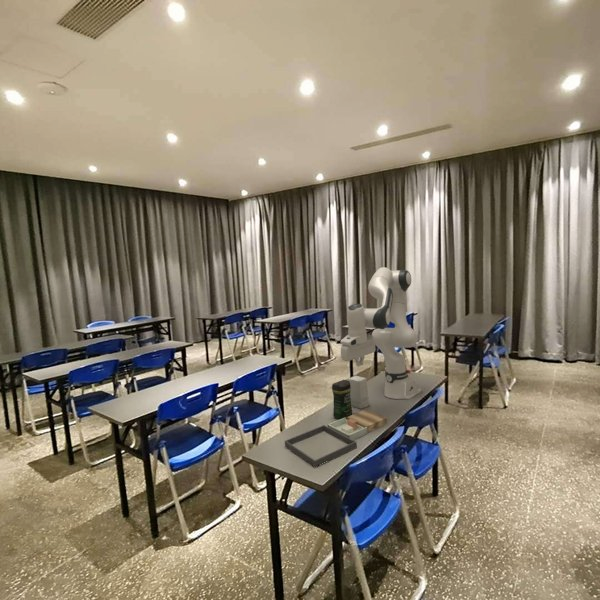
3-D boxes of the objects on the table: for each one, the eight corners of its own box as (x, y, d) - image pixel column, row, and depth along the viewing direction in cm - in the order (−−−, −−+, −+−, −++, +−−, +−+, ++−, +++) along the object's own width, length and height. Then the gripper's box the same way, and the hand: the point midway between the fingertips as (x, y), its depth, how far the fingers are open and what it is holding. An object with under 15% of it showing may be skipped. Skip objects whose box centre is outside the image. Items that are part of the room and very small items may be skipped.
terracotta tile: (350, 418, 171) (347, 420, 170) (356, 421, 168) (353, 422, 167) (350, 426, 171) (347, 428, 170) (356, 429, 168) (353, 431, 167)
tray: (345, 423, 177) (344, 417, 176) (367, 433, 164) (367, 427, 164) (328, 430, 170) (327, 424, 170) (349, 442, 158) (349, 435, 158)
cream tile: (341, 427, 167) (341, 431, 167) (347, 430, 164) (347, 434, 164) (347, 424, 170) (347, 428, 170) (353, 427, 166) (353, 431, 166)
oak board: (365, 415, 184) (365, 409, 183) (386, 423, 172) (386, 417, 172) (346, 423, 176) (346, 417, 176) (367, 432, 165) (366, 426, 165)
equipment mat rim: (324, 429, 171) (324, 424, 171) (356, 447, 153) (356, 441, 153) (285, 446, 159) (284, 440, 159) (315, 467, 141) (314, 461, 140)
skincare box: (369, 405, 195) (367, 378, 193) (361, 409, 191) (359, 381, 189) (357, 402, 201) (355, 375, 200) (349, 405, 197) (347, 378, 196)
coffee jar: (342, 421, 178) (340, 385, 176) (331, 417, 184) (328, 382, 182) (355, 415, 185) (353, 380, 183) (343, 411, 191) (341, 377, 189)
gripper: (368, 332, 183) (370, 358, 185) (337, 341, 171) (340, 369, 173) (377, 334, 178) (379, 361, 179) (346, 343, 166) (349, 372, 168)
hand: (359, 365), depth 176 cm, fingers closed
